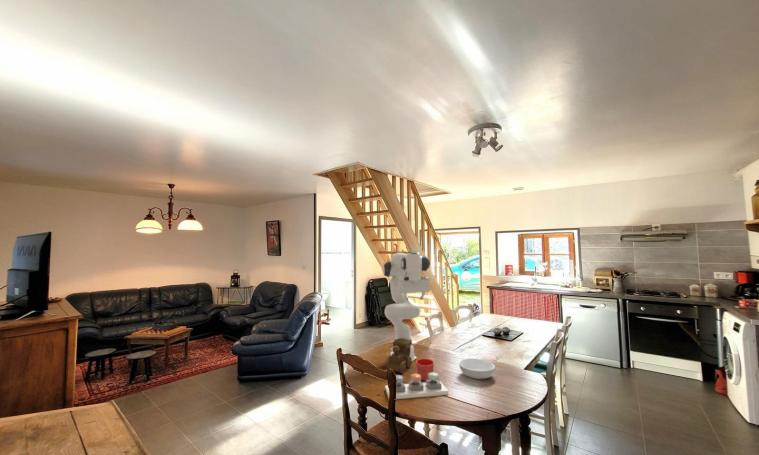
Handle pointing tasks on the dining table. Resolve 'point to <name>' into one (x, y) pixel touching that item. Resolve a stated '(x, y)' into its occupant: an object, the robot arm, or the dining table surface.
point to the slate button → (399, 379)
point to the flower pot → (424, 368)
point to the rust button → (415, 378)
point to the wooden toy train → (400, 355)
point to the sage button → (433, 376)
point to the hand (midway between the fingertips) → (414, 300)
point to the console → (419, 389)
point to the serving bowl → (477, 368)
